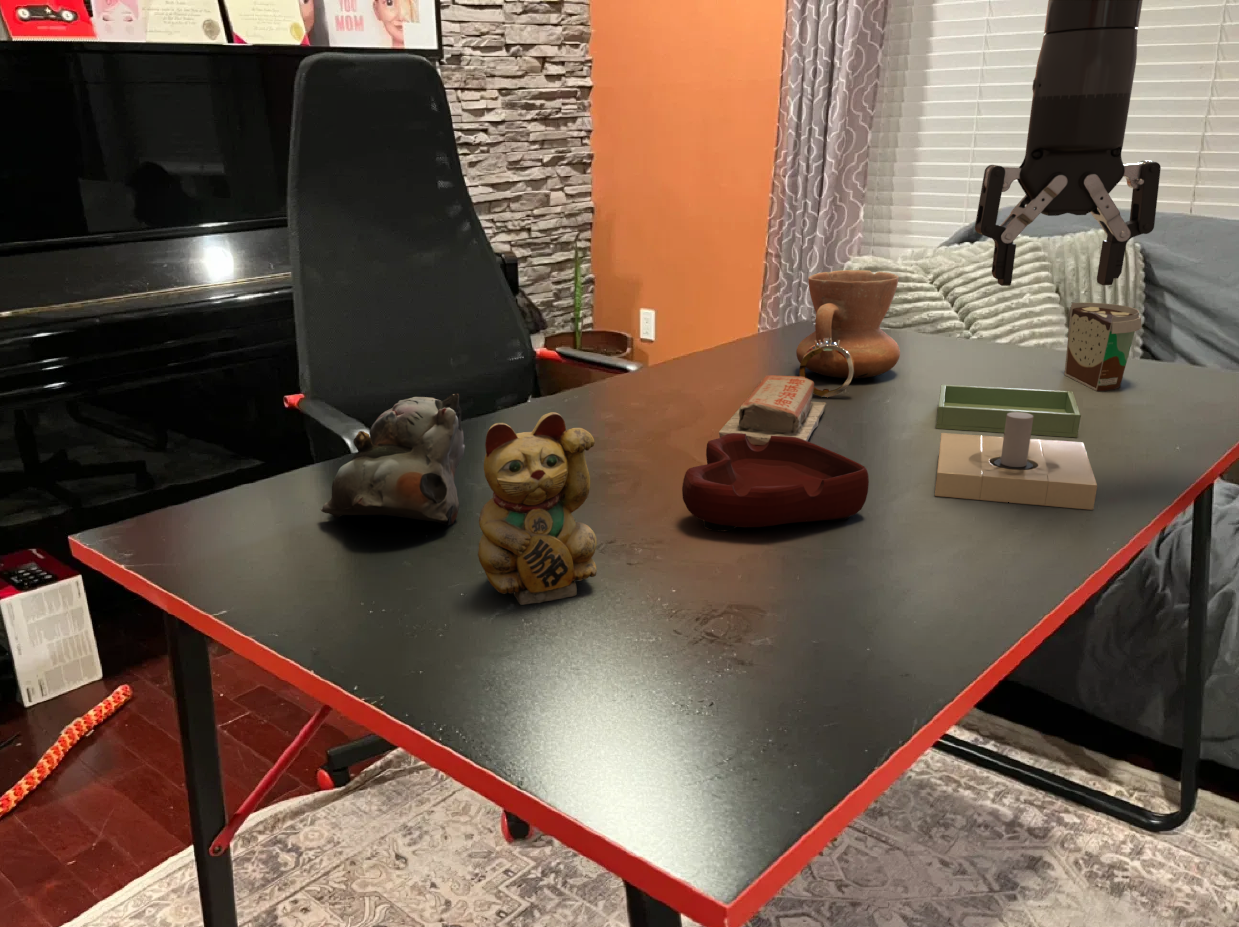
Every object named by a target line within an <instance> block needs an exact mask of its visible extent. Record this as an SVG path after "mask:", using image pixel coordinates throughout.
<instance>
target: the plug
mask: <svg viewBox="0 0 1239 927" xmlns="http://www.w3.org/2000/svg"><path fill="white" fill-rule="evenodd" d="M1032 423H1033V415H1031V414H1028V413H1023V412H1011V413H1008V414H1007V416H1006V424H1005V431H1004V433H1003V437H1004V439H1003V446H1002V454H1001V459H998V460H995V461H994V466H997V467H1000V468H1005V469H1012V470H1030V469H1033V464H1032V463H1030V462H1028V461H1027V458H1028V451H1029V444H1030V439H1031V437H1032V435H1031V430H1032Z"/></svg>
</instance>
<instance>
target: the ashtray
mask: <svg viewBox="0 0 1239 927" xmlns="http://www.w3.org/2000/svg"><path fill="white" fill-rule="evenodd" d="M705 458H706V464H701V465H696V466H693V467H692V466H691V467H690V468H688V469H686V471H685V474H684V477H683V480H682V485H681V486H682V488H681V493H682V496H681V497H682V501H683V503H684V505H685V507H686V509H687V511H688V512H689V513H691V515H693V517H695V518H697V519H699V520H701V521H703V527H704V528H705V529H707V530H710V531H714V532H728V531H732V530H734V529H736V528H737V527H738V528H761V527H762V528H763V527H770V526H772V527H773V526H778V525H784V524H793V523H809V522H820V521H821V522H822V521H833V522H834V521H835V522H839V521H845V520H848V519H850V518H851V517H853V516H855V515H856V514H858V513H859V512H860V511H861V510H862V509H863V507H864V505H865V503H866V501H867V498H868V493H869V486H870V480H869V471H868V469H867V468H866V467H865V466H864V465H863V464H860V463H859V462H857V461H855V460H852V459H851V458H848V457H847V456H844V455H842V454H839V453H838V452H835V451H832V450H830V449H828V448H825V447H822V446H820V445H817V444H815V443H813V442H811V441H809V440H808V441H806V440H803V439H800V438H797V437H787V436H771V438H770V440H769V441H768V443H766V444H765V445H753V444H751V443H750V442H749V440H748V439H747V436H746V434H743V433H729V434H726V435H724V436H722V437H720V436H719V437H718V438H714V439H710V440H709V441H707V443H706V451H705Z"/></svg>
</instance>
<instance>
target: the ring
mask: <svg viewBox="0 0 1239 927" xmlns="http://www.w3.org/2000/svg"><path fill="white" fill-rule="evenodd" d="M831 339H832V338H831V337H829V338H823V342H821V340H819V343H818V344H817V340H815V341H814V343H815V345H814V346H812V347H811V348H810V349H809V350H808V351H807V352H806V354H805V355H804V357H803V359H802V361H801V364H800V363H799V371H798V372H799V376H801V377H805V378H807V379H808V377H807V374H806V369H807V368H806V364H807V362H808V361H809V360H810V359H811V358H812V357H813V356H815V355H817V354H819V353H821V352H822V350H823V351H832V350H835V351H836V352H838V353H839V354H841V355H842V356H843V357H844V358H845V359H846V361H847V363H848V367H849V373H848V377H847V378H846V379H845V381H844V383H843V384H842V385H841V386H839V387H838V388H835V389H832V390H830V389H829V388H823V389H819V388H817V387H815V386H814V390H813V395H816V396H819V397H821V398H822V397H823V396H825V397H827V398H828V397H834V396H837V395H839V394H841V393H842V392H844V391H845V390H846V389H847V388H848V387H849V386H850V384H851V383H852V381H853V379H854V378H853V376H854V371H855V365H854V361H853V358H852V356H851V355H850V354H849V352H847V351H846V350H845V349H844V348H842V347H840V346H838V345H839V341H840V340H837V343H836V342H832V340H831Z"/></svg>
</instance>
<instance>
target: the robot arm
mask: <svg viewBox="0 0 1239 927" xmlns="http://www.w3.org/2000/svg"><path fill="white" fill-rule="evenodd" d="M1142 7H1143V0H1047V7H1046V14H1045V15H1046V16H1045V23H1044V31H1043V34H1044V35H1043V38H1042V44H1041V47H1040V51H1039V55H1038V59H1037V63H1036V67H1035V68H1036V69H1035V76H1034V79H1033V81H1032V87H1031V88H1032V90H1031V91H1032V99H1031V108H1030V115H1029V123H1028V132H1027V139H1026V146H1025V154H1024V158H1023V161H1022V162H1021V164H1020V165H1019V167H1014V166H1012V167H1011V166H1002V165H997V164H989V165H988V166H986V168H985V169H984V172H983V178H982V183H981V189H980V194H979V201H978V205H977V212H976V217H975V223H974V231H975V233H978V235H979V234H980V235H982V236H984V237H987V238H990V239H992V241H993V242H994V248H993V256H992V264H991V275H992V278H994V279H995V280H997V284H998V285H999V286H1001V287H1011V285H1012V282H1013V273H1014V266H1015V265H1014V264H1015V258H1016V250H1017V243H1014V241H1015V240H1016V239H1017V238H1018V237H1019V235H1020V234H1021V233H1022V232H1023V231H1024V230H1025V229H1026V227H1028V225H1030V224H1032V223H1033V222H1034V221H1035V220H1036V219H1037V218H1038V216H1040V214H1042V215H1044V216H1048V217H1058V216H1063V215H1065V214H1071V215H1075V216H1087V214H1089V213H1090V214H1091V216H1092V217H1093V219H1095V220H1096V222H1097V223H1098V224H1099V225H1100V227H1101V229H1102V231H1103V232H1104V233H1105V235H1106V240H1102V241H1101V242H1102V243H1101V248H1100V256H1099V260H1098V261H1099V262H1098V269H1097V274H1096V283H1097V284H1098V285H1101V286H1112V285H1113V283H1114V279H1119V278H1120V276H1121V274H1122V272H1123V266H1124V262H1125V261H1124V260H1125V255H1126V248H1127V244H1128V242H1129V241H1130V240H1131V239H1132V238H1135V237H1138V236H1140V235H1141V236H1142V235H1149V234H1150V233H1151V232H1153V230H1154V229H1155V222H1156V214H1157V204H1158V198H1159V197H1158V195H1159V186H1160V178H1161V171H1162V170H1161V169H1162V168H1161V165H1160V163H1159V162H1157V161H1152V160H1141V161H1139V162H1137V163H1126V164H1124V162H1123V159H1122V152H1123V147H1124V142H1125V141H1124V140H1125V135H1126V128H1127V124H1128V116H1129V111H1130V104H1131V97H1132V91H1133V86H1134V79H1135V72H1136V65H1137V58H1138V33H1139V29H1138V28H1139V25H1140V20H1141V14H1142ZM1123 178H1125V179H1126V185H1127V187H1128V188H1130V189H1132V192H1131V193H1132V194H1131V201H1130V202H1131V203H1130V212H1129V220H1128V221H1125V220H1124V219H1123V217H1122V215H1121V212H1120V210H1119V208H1118V206H1117V205H1116V203H1115V202H1114V200H1113V198H1112V197H1111V196H1110V193H1111V192H1112V191H1113V190H1114V189H1115V188H1116V186H1117V185H1118V184H1119V183H1120V182H1121V180H1122V179H1123ZM1016 180H1017V183H1018V185H1019V186H1020V187H1021V189H1022V191H1023V193H1024V194H1025V195H1024V196H1023V197H1022V198H1021V200H1020V201H1019V202H1018V203H1017V204H1016V205H1015V206H1014V207H1013V209H1012V210H1011V212H1010V214H1009V215H1008V216H1007V217H1006V218H1005V219H1004V221H1003V222H1002V223H1001V224H1000V225H999V224H997V221H998V215H999V210H1000V206H1001V205H1000V204H1001V199H1002V193H1005V192H1007V191H1009V189H1010V188H1011V185H1012V183H1013V182H1014V181H1016Z"/></svg>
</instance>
